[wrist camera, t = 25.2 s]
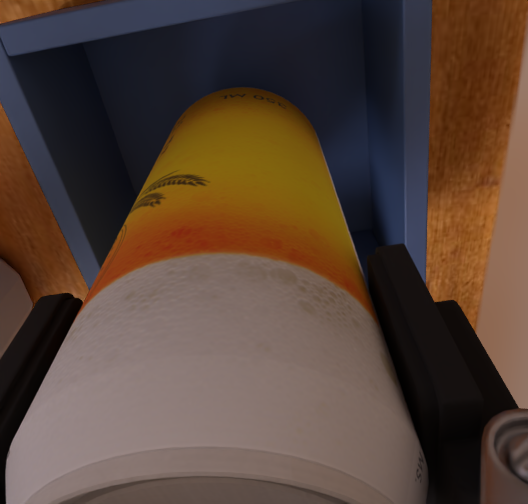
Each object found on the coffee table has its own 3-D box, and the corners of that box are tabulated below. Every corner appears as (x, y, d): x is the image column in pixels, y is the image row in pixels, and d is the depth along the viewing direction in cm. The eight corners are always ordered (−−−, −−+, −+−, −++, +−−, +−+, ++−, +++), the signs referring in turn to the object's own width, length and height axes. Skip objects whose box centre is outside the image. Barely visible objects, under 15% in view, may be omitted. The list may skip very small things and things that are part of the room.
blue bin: (376, -55, 17) (434, -63, 12) (386, 233, 24) (425, 317, 18) (56, 10, 18) (-34, 32, 13) (151, 269, 25) (120, 358, 19)
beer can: (149, 97, 17) (-161, 486, 4) (311, 68, 17) (477, 411, 4) (190, 235, 20) (78, 689, 8) (327, 214, 20) (447, 661, 7)
